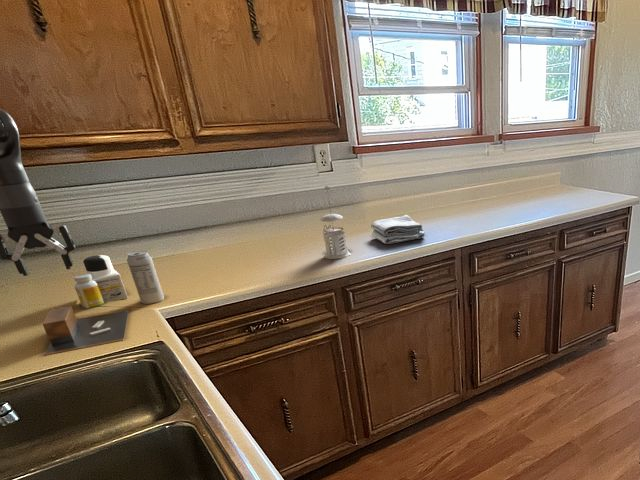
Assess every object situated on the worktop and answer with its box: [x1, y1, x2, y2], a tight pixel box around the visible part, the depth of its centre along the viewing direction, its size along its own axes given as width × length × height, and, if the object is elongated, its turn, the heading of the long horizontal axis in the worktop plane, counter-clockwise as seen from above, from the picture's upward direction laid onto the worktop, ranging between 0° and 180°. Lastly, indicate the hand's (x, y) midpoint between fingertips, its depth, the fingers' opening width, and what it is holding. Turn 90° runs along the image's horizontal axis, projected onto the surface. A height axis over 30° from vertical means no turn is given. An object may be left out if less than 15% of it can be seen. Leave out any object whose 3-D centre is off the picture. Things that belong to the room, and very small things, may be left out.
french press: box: [320, 185, 351, 260], centre depth 188 cm, size 10×12×25 cm
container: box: [82, 254, 129, 303], centre depth 155 cm, size 8×8×13 cm
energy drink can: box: [126, 250, 165, 305], centre depth 150 cm, size 6×6×15 cm
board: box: [43, 309, 129, 357], centre depth 134 cm, size 16×24×1 cm, turn 29°
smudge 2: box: [90, 328, 111, 336], centre depth 132 cm, size 4×1×1 cm, turn 139°
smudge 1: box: [92, 321, 104, 329], centre depth 136 cm, size 4×1×1 cm, turn 14°
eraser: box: [42, 306, 79, 345], centre depth 130 cm, size 4×11×6 cm, turn 29°
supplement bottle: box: [73, 273, 105, 309], centre depth 149 cm, size 5×5×10 cm
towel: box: [370, 214, 425, 245], centre depth 213 cm, size 15×18×8 cm
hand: (48, 271), depth 126 cm, fingers open, 8 cm apart
